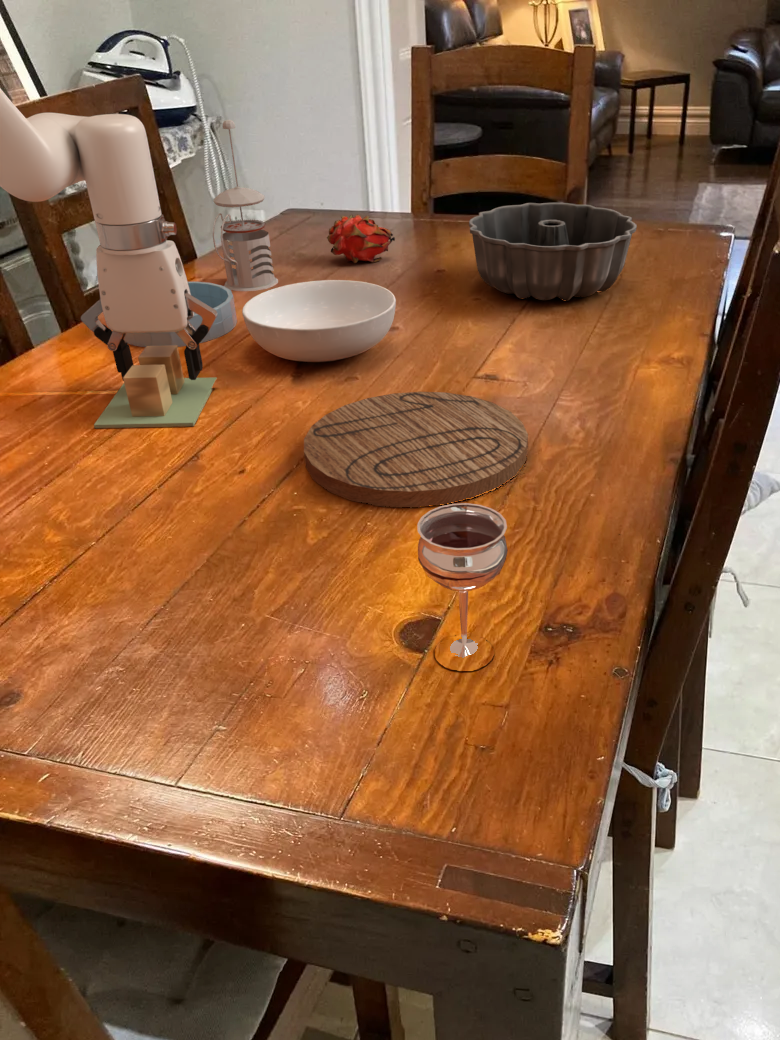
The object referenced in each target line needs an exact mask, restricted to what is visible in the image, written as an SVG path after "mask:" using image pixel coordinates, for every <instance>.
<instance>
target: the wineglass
mask: <svg viewBox="0 0 780 1040" xmlns="http://www.w3.org/2000/svg"><path fill="white" fill-rule="evenodd" d="M416 527H417V528H416V529H417V533H418V535H420V537H419V539H418V543H417V560H418V562H419V565H420V566H421V569H422V570H423V572H424V573H425V575H426V576H427V577H428V578H429V579H430V580H431V581H433V582H435V583H437V584H438V585H439V586H441V587H442V588H444V589H447V590H449V591H454V592H457V593H458V607H459V620H460V622H459V623H460V634H461V637H462V639H459V640H456V641H454V642H453V643H452V644H451V646H450V651H451V653H456V654H458V655H455V656H458V657H462V658H464V657H466V656H468V655H472V654H474V653H475V652H476V651H477V649H478V646H477V645H478V643H475V641H473V640H471V639H467V634H468V616H469V615H468V614H469V613H468V611H469V610H468V609H469V607H468V606H469V592H471V591H475V590H479V589H481V588H483V587H485V586H486V585H487V584H489V583H490V582H492V581H493V580H494V579H496V578H497V577H498V575H499V574H500V573H501V571H502V569H503V567H504V565H505V562H506V560H507V555H508V545H507V544H508V543H507V540H506V536H505V533H506V531H507V529H508V525H507V520H506V518H505V517H504V516H503V515H502V513H500V512H499V511H497V510H495V509H493V508H491V507H488V506H485V505H483V504H476V503H470V502H469V503H468V502H466V503H465V502H459V503H452V504H447V505H442V506H437V507H435V508H433V509H431V510H429V511H427V512H426V513H425V514H423V515H422V516H421V517H420V518H419V520H418V522H417V526H416Z"/></svg>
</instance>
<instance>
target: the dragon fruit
mask: <svg viewBox="0 0 780 1040" xmlns="http://www.w3.org/2000/svg"><path fill="white" fill-rule="evenodd" d="M326 239H327V241H328V242H329V244H331V245H332V247H331V248H330V253H332V254H333V255H334V256H340V255H344V256H345V257H344V258H345V261H346V262H353V264H357V263H358V262H359V261H363V262H364V261H365V262H370V263H377V262H379V261H381V260H383V257H381V256H380V257H376V256H377V255H381V254H382V253H385V252H389V246H390V244H392V242H395V240H396V238H395V236H394V234H393V233H392V232H391V230H390V229H388V228H385V227H381V226H379V225H378V224H376V221H375V220H374V219H371V218H370V216H369V215H365V216H364V217H363V218H362V216H361V215H360V214H355V216H353V214H351V215H348V216H345V215H342V216H340V219H337V220H334V222H333V225H332V226H331V227H330V228H328V235H327V237H326ZM375 257H376V258H375Z"/></svg>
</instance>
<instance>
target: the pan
mask: <svg viewBox="0 0 780 1040" xmlns="http://www.w3.org/2000/svg"><path fill="white" fill-rule="evenodd" d="M187 282H188V285H189V289H190V293H191V295H192V296H193V297H195V298H196V299H198V300H200V301H201V302H203V303H205V304H206V305H208V306H210V307H211V308H213V309H215V310H216V311H217V313H218V314H217V317H216V319H215V321H214V322H213V324H212V326H211V328H210V330H209V332H208V333H207V335H206V336H205V337H204V338H203V340H202V341H201V342H200V343H199V344H203V343H207V342H211V341H213V340H217V339H219V338H221V337H224V336H225V335H227V334H229V333H230V332H232V330H234V329H235V327H236V326H237V323H238V317H237V311H236V305H235V298H234V294H233V291H232V290H230V289H228V288H226V287H225V286H224V285H221V284H217V283H212V282H207V281H206V282H205V281H187ZM188 321H189V322H190V323H191V324H192V325H193V327H194V328H195V329H196V330H197V328H198V327H199V326H200V324H201V322H202V317H201V316H200V315H198V314H196V313H195V312H194V316H193V318H192V319H190V320H188ZM124 341H125V343H127V344H128V345H131V346H135V347H140V348H145V347H146V346H169V345H177V346H178V348H181V347H186V344H185V343H184V342H183V341H182V340H181V339H180V337H179V336H178V335H177V334H176V333H175V332H149V333H126V335H125V338H124Z"/></svg>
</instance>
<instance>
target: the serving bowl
mask: <svg viewBox="0 0 780 1040" xmlns="http://www.w3.org/2000/svg"><path fill="white" fill-rule="evenodd" d="M396 306H397V299H396V296H395V295H394V293H393V292H392V291H391V290H389V289H387V288H386V287H384V286H381V285H378V284H376V283H371V282H366V281H361V280H348V279H321V280H311V281H310V280H309V281H302V282H296V283H290V284H285V285H282V286H279V287H274V288H271V289H269V290H265V291H263V292H261V293H259V294H257V295H255V296H253V297H252V298H250V299H249V300H247V302H246V303H245V304H243V307H242V310H241V314H242V318H243V320H244V324H245V326H246V328H247V332H248V333H249V334H250V336H251V337H252V339H253V340H254V342H255V343H256V344H257V345H258V346H260V347H261V348H262V349H263V350H265V351H266V352H268V353H270V354H272V355H274V356H276V357H278V358H282V359H285V360H290V361H295V362H303V363H304V362H305V363H306V362H307V363H328V362H334V361H339V360H345V359H349V358H351V357H355V356H358V355H361V354H363V353H365V352H368V351H369V350H371V349H372V348H374V347H375V346H377V345H378V344H379V343H380V342H382V340H383V339H384V338H385V337H386V336H387V334H388V333H389V331H390V330H391V327H392V325H393V324H394V323H393V322H394V319H395V314H396Z"/></svg>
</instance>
